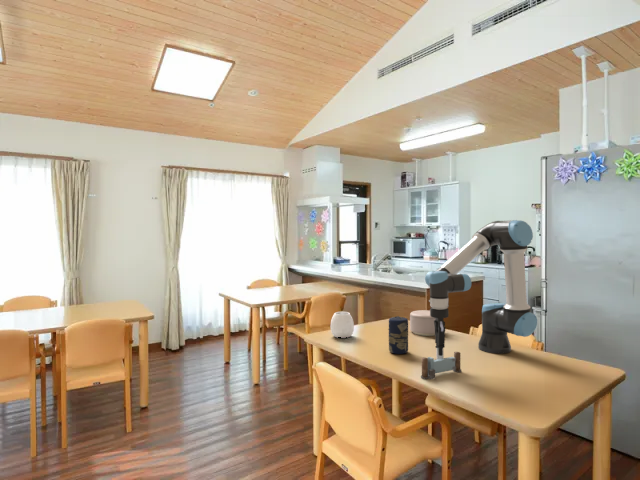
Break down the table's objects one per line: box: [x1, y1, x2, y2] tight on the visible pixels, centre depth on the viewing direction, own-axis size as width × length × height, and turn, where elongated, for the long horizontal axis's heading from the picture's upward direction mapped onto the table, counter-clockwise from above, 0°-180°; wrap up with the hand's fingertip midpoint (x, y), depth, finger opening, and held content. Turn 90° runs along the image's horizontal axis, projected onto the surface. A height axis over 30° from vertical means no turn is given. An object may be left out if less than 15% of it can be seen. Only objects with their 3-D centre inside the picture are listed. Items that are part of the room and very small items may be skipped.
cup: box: [330, 311, 355, 339], centre depth 233 cm, size 13×13×14 cm
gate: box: [427, 356, 456, 376], centre depth 171 cm, size 13×2×8 cm, turn 115°
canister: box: [387, 315, 409, 355], centre depth 202 cm, size 10×10×18 cm
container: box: [409, 309, 435, 337], centre depth 240 cm, size 18×18×12 cm
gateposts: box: [420, 351, 462, 380], centre depth 170 cm, size 21×4×8 cm, turn 115°
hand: (440, 362), depth 175 cm, fingers closed
